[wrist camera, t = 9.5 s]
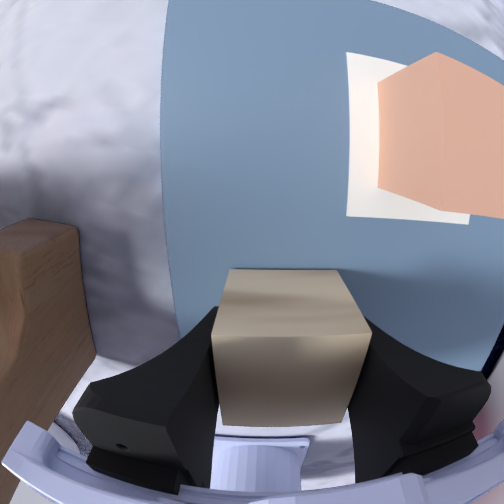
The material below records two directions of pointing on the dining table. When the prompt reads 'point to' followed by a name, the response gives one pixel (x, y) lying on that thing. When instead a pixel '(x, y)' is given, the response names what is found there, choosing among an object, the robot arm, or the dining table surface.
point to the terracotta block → (443, 136)
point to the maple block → (287, 348)
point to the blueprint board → (315, 168)
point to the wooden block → (39, 329)
